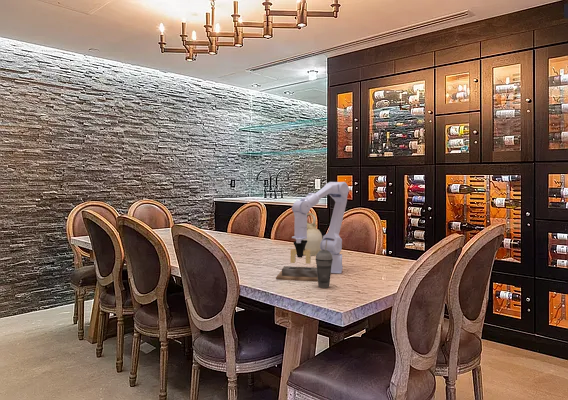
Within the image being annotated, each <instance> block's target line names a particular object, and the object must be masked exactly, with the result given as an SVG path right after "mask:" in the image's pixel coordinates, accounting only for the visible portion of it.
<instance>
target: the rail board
mask: <svg viewBox="0 0 568 400" xmlns="http://www.w3.org/2000/svg"><path fill="white" fill-rule="evenodd" d="M275 280H280V281H299V282H300V281H301V282H302V281H303V282H318V278H317V267H314V266H313V267H311V266H309V267H308V266H291V265H290V266H285V265H284V266H283V267H282V268H281V270H280V272H279V273H278V274H277V276H276V277H275Z"/></svg>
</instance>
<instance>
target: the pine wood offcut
mask: <svg viewBox="0 0 568 400" xmlns="http://www.w3.org/2000/svg"><path fill="white" fill-rule="evenodd" d="M296 256H297V252H296V248H291V249H290V258H289V259H290V260H289V261H290V262H289V263H290V264H295V263H296V258H297V257H296ZM303 256H305V265H306V264H309V265H310V264H311V261H312V255H311V249H304V251H303Z"/></svg>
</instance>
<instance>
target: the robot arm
mask: <svg viewBox="0 0 568 400" xmlns="http://www.w3.org/2000/svg"><path fill="white" fill-rule="evenodd" d="M349 191H350V187H349V185H348V183H347V182H346V181H329V182H327V183H325V185H324V186H323V187H322V188H320V189H319V190H318V191H316V192H309V193H307V195H306V196H304V197H301V198H300V200H296V201H294V203H292V206H291V211H292V213H293V216H294V222H293V223H294V225H293V226H294V227H293V228H294V236H291V239H294V241H293V242H292V243H293V245H294V247H295V248H294V249H296V252H297V254H296V256H297V257H296V258H300V259H301V258H303V257H304V255H303V251H304V249H305V246H306V243H307V240H304V239H307V222H308V217H307V214H308V213H310V210H311V209H312V208H313V207H315V206H317V205H318V204H319V202H320V199H323V198H324V197H326V196H330V197H331V199H332V200H333V201H334V206H333V210H332V215H331V219H330V223H329V227H328V231H327V233H325V234H324V235H322V241H321V243H320V249H321V250H325V245H326V239H327V247H326V250H328V251H329V252H330V253H331V254H332V259H333V260H332V265H331V274H342V273H343V253H341V251H342V248H343V244H342V243H343V239H342V237H341V236H340V232H341V227H342V223H343V220H344V215H345V213H346V212H345V211H346V207H347V202H348V195H349Z"/></svg>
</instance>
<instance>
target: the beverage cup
mask: <svg viewBox="0 0 568 400" xmlns="http://www.w3.org/2000/svg"><path fill="white" fill-rule="evenodd" d="M326 247H327V239H326V245H325V250H320V251H319V252H318V253H317V255H315V259H314V260H315V265H316V268H317V278H318V281H317V285H318V286H317V287H318V288H320V289H329V288H330V284H331V283H330V282H331V274H332V273H331V265H332V260H333V259H332V254H331V253H330V252H329V251H328V250H326ZM328 287H329V288H328Z"/></svg>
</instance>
